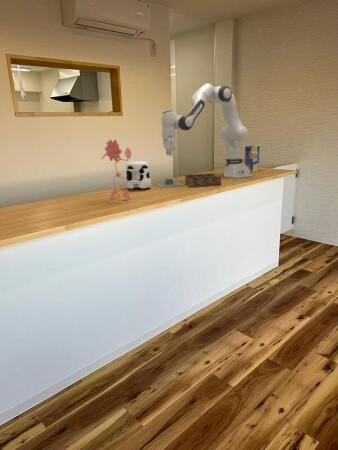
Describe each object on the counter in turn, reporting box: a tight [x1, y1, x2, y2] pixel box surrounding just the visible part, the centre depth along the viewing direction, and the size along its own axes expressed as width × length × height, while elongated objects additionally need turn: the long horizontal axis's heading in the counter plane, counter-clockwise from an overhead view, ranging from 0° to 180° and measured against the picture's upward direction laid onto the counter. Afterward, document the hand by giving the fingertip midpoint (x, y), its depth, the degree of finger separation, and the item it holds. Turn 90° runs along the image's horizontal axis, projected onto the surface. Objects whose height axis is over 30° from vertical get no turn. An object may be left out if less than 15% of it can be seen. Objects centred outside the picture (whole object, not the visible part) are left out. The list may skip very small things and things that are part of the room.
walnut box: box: [184, 172, 222, 188], centre depth 234 cm, size 22×15×6 cm, turn 102°
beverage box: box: [244, 145, 260, 174], centre depth 286 cm, size 7×11×22 cm, turn 130°
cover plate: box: [155, 178, 184, 188], centre depth 238 cm, size 18×12×5 cm, turn 102°
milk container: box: [125, 160, 152, 191], centre depth 224 cm, size 17×17×18 cm
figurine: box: [100, 139, 132, 205], centre depth 189 cm, size 15×26×35 cm, turn 51°
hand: (169, 155), depth 233 cm, fingers open, 8 cm apart
